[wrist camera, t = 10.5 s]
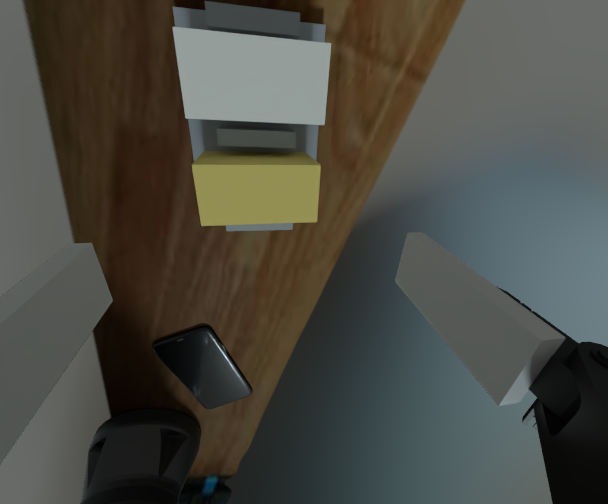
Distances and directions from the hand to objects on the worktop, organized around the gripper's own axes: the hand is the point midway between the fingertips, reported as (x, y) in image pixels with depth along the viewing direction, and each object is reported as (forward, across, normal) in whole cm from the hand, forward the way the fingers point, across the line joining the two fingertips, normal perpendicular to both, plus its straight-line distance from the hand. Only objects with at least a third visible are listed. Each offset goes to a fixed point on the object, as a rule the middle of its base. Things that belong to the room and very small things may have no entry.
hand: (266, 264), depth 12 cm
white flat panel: (+16, 0, +8) cm, 17 cm away
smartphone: (+17, -8, -27) cm, 33 cm away
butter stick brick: (+16, 0, 0) cm, 16 cm away
